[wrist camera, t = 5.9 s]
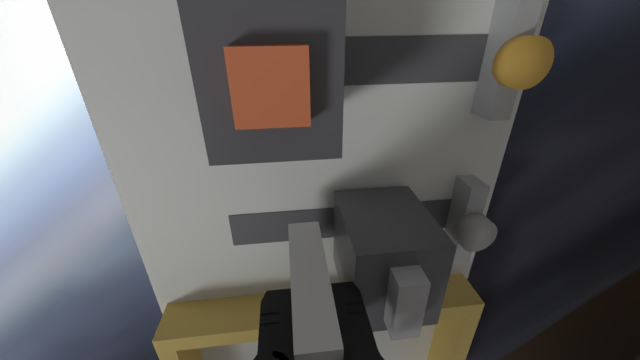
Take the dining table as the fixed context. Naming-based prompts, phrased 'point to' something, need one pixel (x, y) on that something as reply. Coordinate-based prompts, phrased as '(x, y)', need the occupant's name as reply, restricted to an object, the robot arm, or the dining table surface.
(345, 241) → the breaker
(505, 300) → the dining table surface
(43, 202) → the dining table surface
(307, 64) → the breaker
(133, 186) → the panel
